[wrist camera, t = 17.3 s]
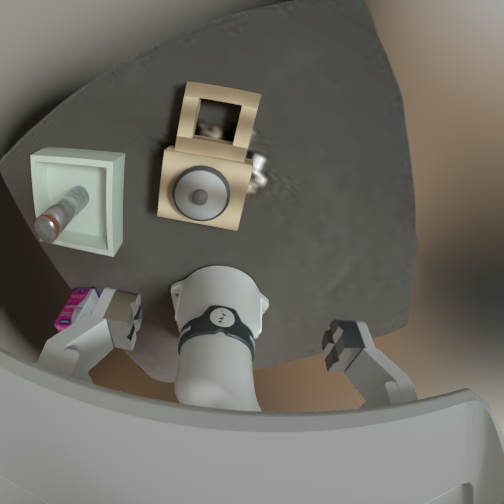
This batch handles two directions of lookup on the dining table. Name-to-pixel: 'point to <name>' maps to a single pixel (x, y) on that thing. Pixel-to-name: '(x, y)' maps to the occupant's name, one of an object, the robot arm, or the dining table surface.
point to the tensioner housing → (208, 163)
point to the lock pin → (61, 214)
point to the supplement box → (77, 307)
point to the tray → (98, 187)
